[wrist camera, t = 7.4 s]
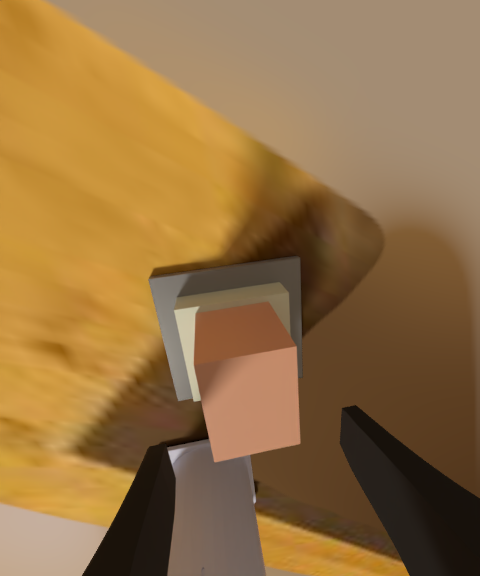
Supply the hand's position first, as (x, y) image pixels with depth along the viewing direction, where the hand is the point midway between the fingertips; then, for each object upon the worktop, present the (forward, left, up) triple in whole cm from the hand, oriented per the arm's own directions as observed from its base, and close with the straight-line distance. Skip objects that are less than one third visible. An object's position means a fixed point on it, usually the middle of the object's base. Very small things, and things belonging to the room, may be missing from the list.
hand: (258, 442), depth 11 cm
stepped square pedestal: (0, 0, -9) cm, 9 cm away
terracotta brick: (0, 0, -7) cm, 7 cm away
